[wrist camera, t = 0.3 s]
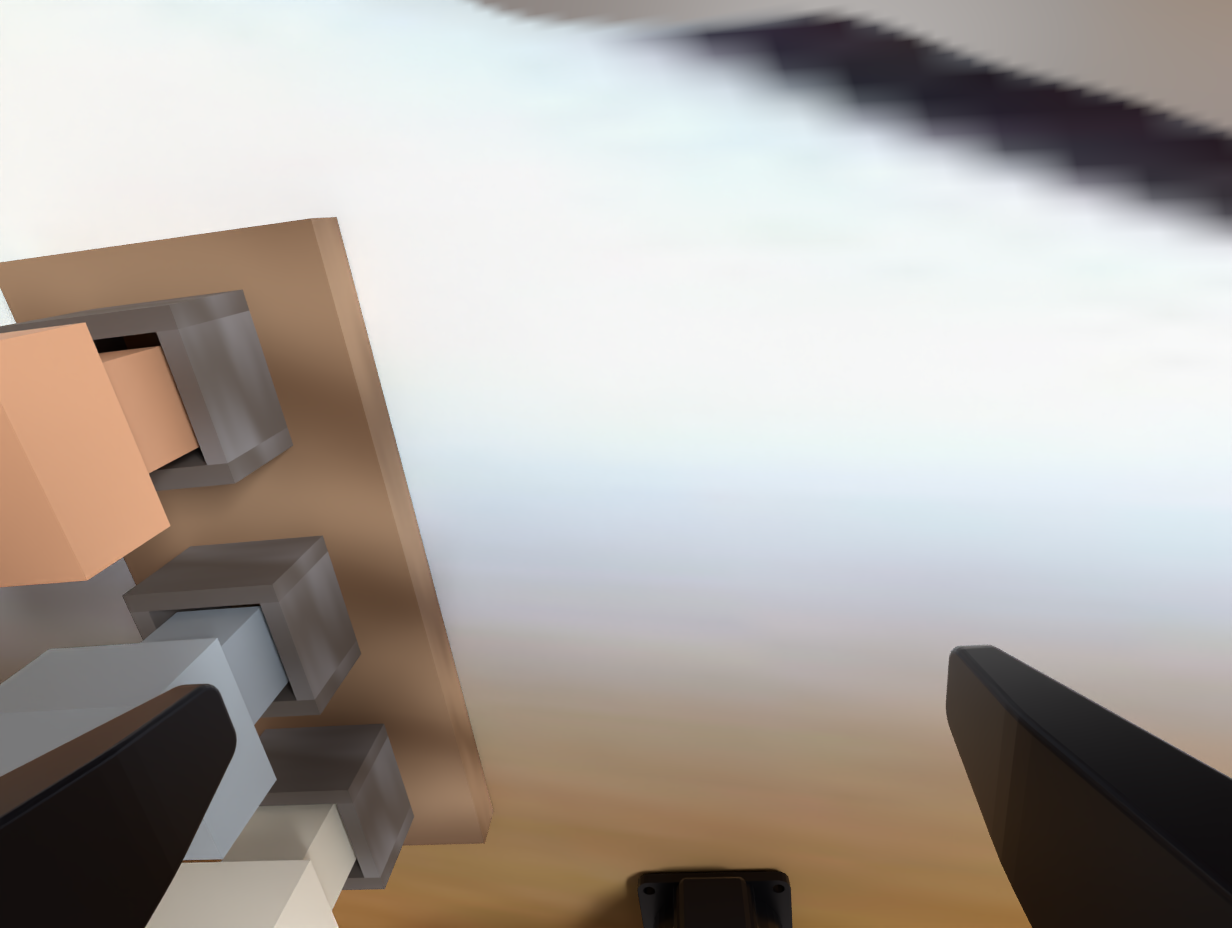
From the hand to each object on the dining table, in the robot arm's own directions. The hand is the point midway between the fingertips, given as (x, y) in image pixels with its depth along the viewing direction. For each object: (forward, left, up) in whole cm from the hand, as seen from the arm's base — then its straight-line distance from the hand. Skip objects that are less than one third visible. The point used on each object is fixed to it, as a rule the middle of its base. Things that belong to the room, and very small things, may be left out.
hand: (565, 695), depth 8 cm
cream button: (-14, +13, -10) cm, 21 cm away
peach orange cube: (+2, +13, -10) cm, 16 cm away
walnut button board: (-6, +13, -14) cm, 20 cm away
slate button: (-6, +13, -10) cm, 17 cm away
